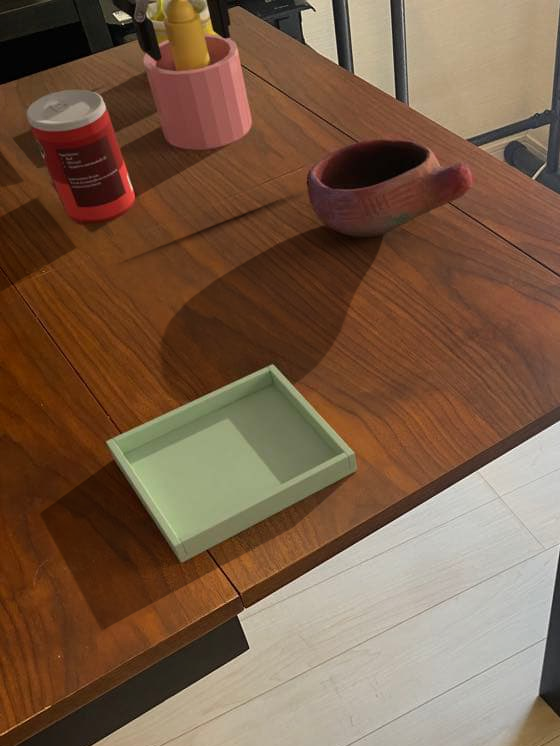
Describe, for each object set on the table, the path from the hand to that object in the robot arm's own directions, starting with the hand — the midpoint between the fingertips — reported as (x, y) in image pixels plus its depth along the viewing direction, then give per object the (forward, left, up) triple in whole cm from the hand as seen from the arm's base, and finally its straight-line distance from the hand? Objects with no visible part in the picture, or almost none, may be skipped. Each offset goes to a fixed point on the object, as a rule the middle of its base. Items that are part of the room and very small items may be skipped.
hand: (188, 44), depth 94 cm
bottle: (0, 0, -9) cm, 9 cm away
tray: (-23, -52, -10) cm, 58 cm away
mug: (+5, +17, -10) cm, 20 cm away
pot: (0, 0, -10) cm, 10 cm away
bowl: (+6, -31, -10) cm, 33 cm away
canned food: (-17, -8, -10) cm, 21 cm away
